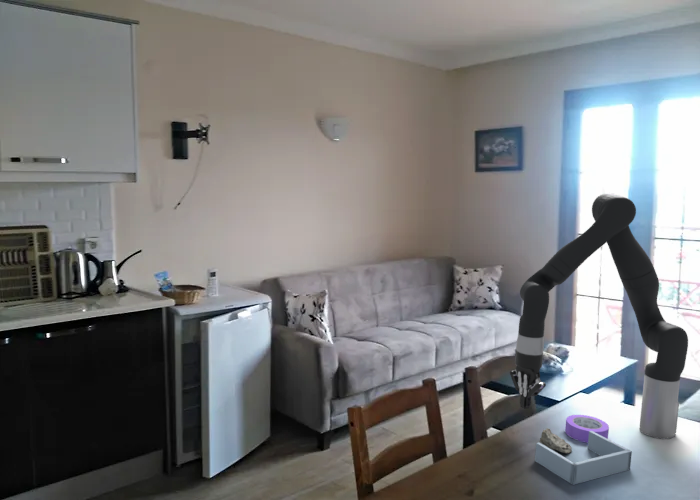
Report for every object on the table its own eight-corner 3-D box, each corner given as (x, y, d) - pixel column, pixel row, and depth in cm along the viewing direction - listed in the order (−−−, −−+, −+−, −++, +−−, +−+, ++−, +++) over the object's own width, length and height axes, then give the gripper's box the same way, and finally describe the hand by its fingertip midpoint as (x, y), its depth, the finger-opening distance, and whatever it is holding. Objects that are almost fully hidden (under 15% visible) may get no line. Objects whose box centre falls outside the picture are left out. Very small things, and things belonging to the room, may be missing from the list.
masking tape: (612, 434, 173) (613, 422, 173) (601, 448, 164) (602, 435, 163) (572, 423, 180) (573, 411, 180) (559, 435, 171) (560, 423, 171)
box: (590, 447, 163) (591, 430, 163) (630, 469, 152) (631, 451, 151) (534, 460, 155) (536, 442, 154) (572, 484, 143) (574, 465, 142)
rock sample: (576, 448, 154) (555, 418, 159) (552, 463, 156) (531, 434, 160) (579, 449, 163) (559, 422, 168) (556, 464, 164) (537, 436, 169)
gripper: (556, 355, 165) (551, 414, 167) (523, 342, 177) (519, 397, 179) (536, 358, 162) (530, 418, 164) (504, 344, 174) (499, 401, 176)
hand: (524, 407), depth 172 cm, fingers closed
